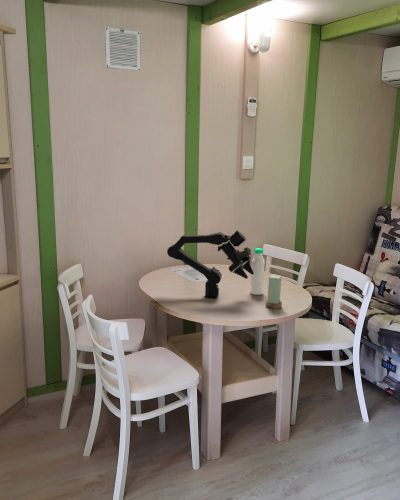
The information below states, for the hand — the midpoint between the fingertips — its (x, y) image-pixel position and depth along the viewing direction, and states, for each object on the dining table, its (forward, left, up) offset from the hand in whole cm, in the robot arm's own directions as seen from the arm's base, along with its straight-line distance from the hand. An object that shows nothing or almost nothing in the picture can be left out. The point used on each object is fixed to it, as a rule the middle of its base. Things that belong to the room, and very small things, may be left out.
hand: (250, 276), depth 242 cm
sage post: (+13, -4, -11) cm, 17 cm away
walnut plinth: (+13, -4, -13) cm, 19 cm away
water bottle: (+2, +15, -14) cm, 21 cm away
